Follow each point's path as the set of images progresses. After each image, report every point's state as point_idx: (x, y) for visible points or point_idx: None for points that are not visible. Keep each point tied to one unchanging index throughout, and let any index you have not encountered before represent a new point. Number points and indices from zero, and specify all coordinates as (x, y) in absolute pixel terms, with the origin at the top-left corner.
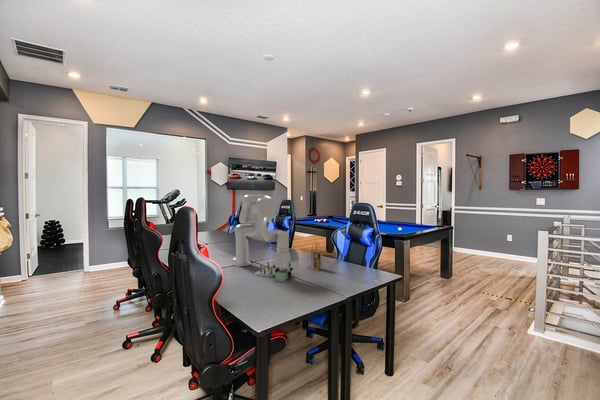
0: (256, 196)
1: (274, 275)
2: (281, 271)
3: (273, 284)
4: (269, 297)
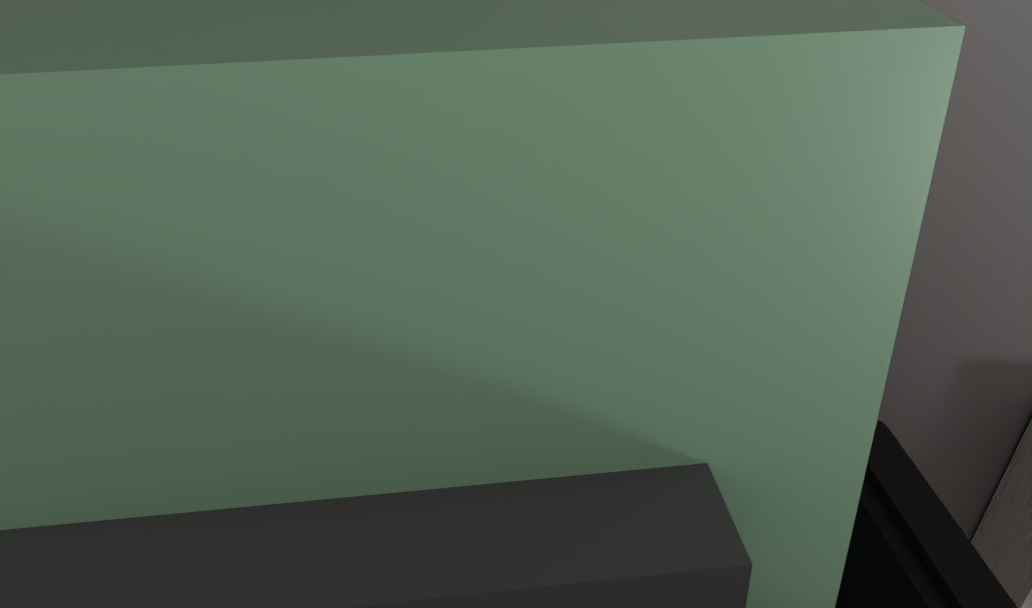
0: None
1: None
2: (323, 585)
3: None
4: None
